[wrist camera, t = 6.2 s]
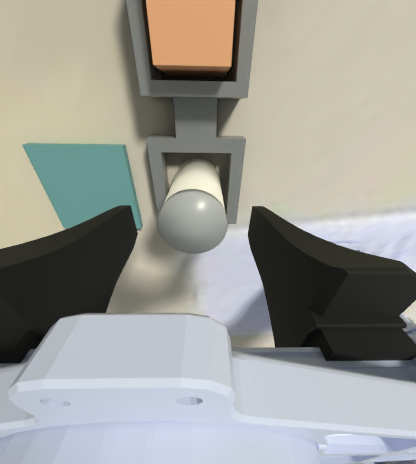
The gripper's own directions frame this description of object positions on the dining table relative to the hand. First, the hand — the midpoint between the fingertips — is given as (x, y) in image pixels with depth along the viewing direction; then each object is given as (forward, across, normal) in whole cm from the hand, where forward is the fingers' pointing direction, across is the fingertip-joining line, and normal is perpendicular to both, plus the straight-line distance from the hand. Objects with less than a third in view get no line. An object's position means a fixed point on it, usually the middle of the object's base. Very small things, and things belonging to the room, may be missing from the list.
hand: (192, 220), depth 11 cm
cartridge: (+7, 0, 0) cm, 7 cm away
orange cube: (+7, 0, -9) cm, 12 cm away
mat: (+7, +10, +1) cm, 12 cm away
